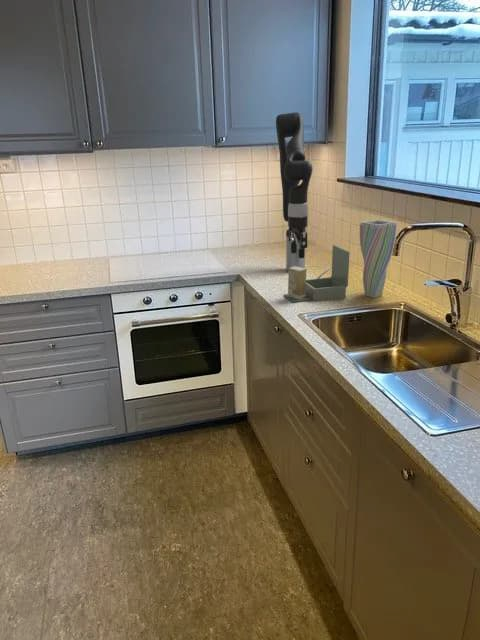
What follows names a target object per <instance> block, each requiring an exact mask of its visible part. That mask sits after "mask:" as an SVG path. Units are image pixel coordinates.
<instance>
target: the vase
mask: <svg viewBox="0 0 480 640" xmlns="http://www.w3.org/2000/svg"><path fill="white" fill-rule="evenodd" d="M396 233H397V223H396V222H395V221H388V220H384V219H383V220H381V219H374V220H368V221H362V222H360V223H359V243H360V244H359V245H360V250H361V254H362V259H363V270H362V285H363V291H364V292H363V293H364V296H367V297H370V298H373V299H374V298H377V297H381V296H383V291H384V288H385V285H386V284H385V283H386V278H387V270H388V269H387V268H388V266H389V264H390V261H391V258H392V255H393V252H392V251H394V248H393V246H394V247H395V243H394V241H395V242H396Z"/></svg>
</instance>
